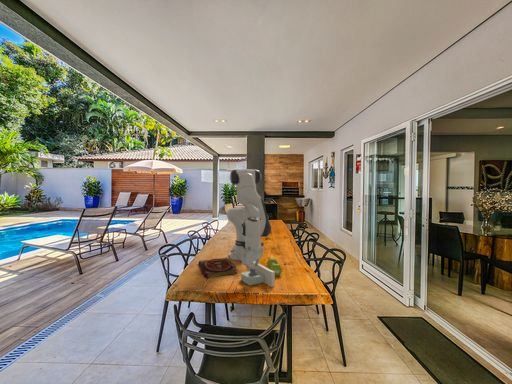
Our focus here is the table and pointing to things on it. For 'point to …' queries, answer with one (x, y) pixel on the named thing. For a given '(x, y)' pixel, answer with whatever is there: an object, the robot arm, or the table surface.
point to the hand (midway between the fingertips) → (252, 268)
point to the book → (217, 267)
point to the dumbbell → (274, 266)
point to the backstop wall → (265, 273)
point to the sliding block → (252, 278)
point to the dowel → (252, 272)
